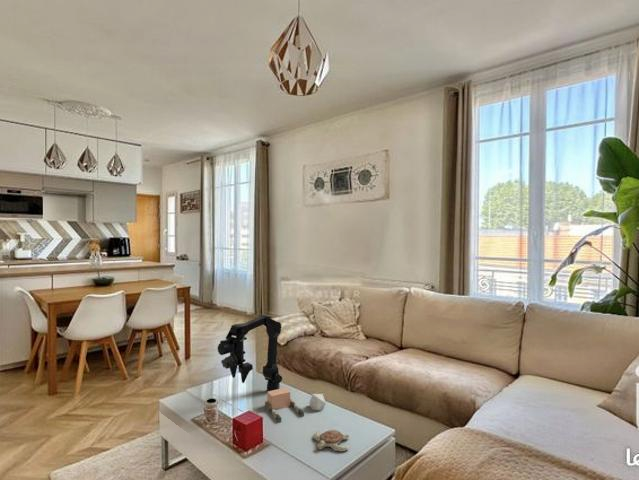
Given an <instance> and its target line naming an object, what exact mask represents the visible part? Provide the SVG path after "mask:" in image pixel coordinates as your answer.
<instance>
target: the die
mask: <svg viewBox="0 0 639 480" xmlns="http://www.w3.org/2000/svg"><path fill="white" fill-rule="evenodd" d="M308 403H309V406H310V409H311V410H313V411H323V410H324V409H325V406H326V404H327V403H326V400H325V397H324V395H323V393H312V394H311V397H310V400H309V402H308Z"/></svg>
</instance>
